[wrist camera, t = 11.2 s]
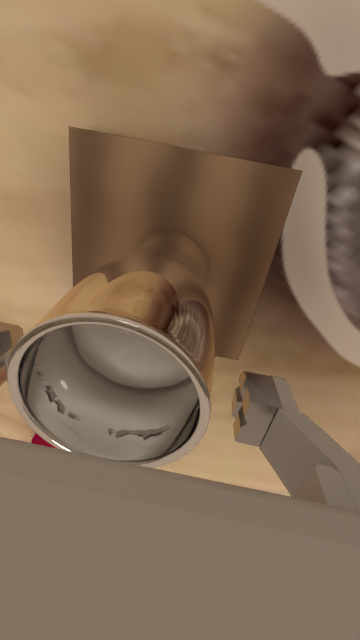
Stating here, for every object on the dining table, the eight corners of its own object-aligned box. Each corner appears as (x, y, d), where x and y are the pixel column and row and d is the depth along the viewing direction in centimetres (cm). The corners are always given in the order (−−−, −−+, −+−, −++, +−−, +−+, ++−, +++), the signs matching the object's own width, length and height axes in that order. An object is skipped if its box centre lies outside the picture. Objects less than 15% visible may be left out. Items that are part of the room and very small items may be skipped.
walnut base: (289, 172, 20) (302, 170, 18) (235, 343, 28) (238, 360, 25) (86, 133, 20) (68, 126, 18) (86, 315, 28) (74, 328, 25)
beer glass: (130, 217, 20) (-26, 287, 7) (220, 231, 20) (242, 330, 7) (127, 300, 23) (18, 456, 10) (204, 313, 23) (197, 488, 10)
